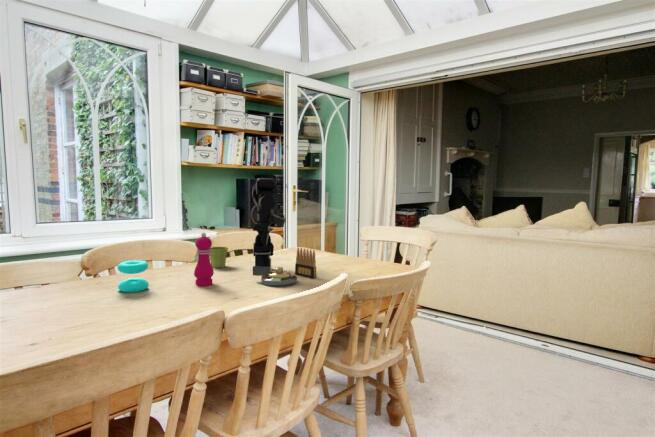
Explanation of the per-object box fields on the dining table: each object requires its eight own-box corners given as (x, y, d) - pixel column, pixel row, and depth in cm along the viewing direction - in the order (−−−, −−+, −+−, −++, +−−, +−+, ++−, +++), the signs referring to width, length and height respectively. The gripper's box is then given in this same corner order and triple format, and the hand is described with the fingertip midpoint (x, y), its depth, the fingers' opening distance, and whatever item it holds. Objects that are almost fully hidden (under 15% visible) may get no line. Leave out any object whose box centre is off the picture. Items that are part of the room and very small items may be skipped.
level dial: (250, 278, 159) (250, 268, 158) (256, 273, 168) (256, 264, 167) (288, 279, 158) (288, 270, 157) (292, 274, 167) (292, 265, 166)
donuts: (139, 258, 154) (153, 262, 148) (139, 284, 155) (154, 289, 149) (112, 262, 146) (126, 266, 140) (112, 289, 147) (126, 295, 141)
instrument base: (257, 286, 156) (257, 278, 156) (265, 277, 170) (265, 270, 170) (293, 287, 155) (294, 279, 155) (298, 278, 169) (299, 271, 169)
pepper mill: (208, 287, 153) (207, 234, 151) (190, 285, 155) (190, 233, 153) (217, 282, 160) (216, 232, 158) (200, 281, 162) (199, 231, 160)
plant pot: (203, 267, 186) (203, 249, 185) (214, 263, 194) (214, 245, 194) (221, 269, 183) (221, 250, 182) (232, 265, 192) (232, 247, 191)
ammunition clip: (316, 278, 171) (317, 250, 170) (313, 279, 169) (314, 250, 168) (297, 274, 177) (298, 246, 176) (294, 274, 176) (295, 247, 175)
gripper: (280, 210, 161) (279, 249, 162) (288, 207, 179) (287, 242, 181) (252, 209, 161) (252, 248, 163) (263, 206, 180) (262, 241, 181)
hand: (265, 245), depth 172 cm, fingers closed
